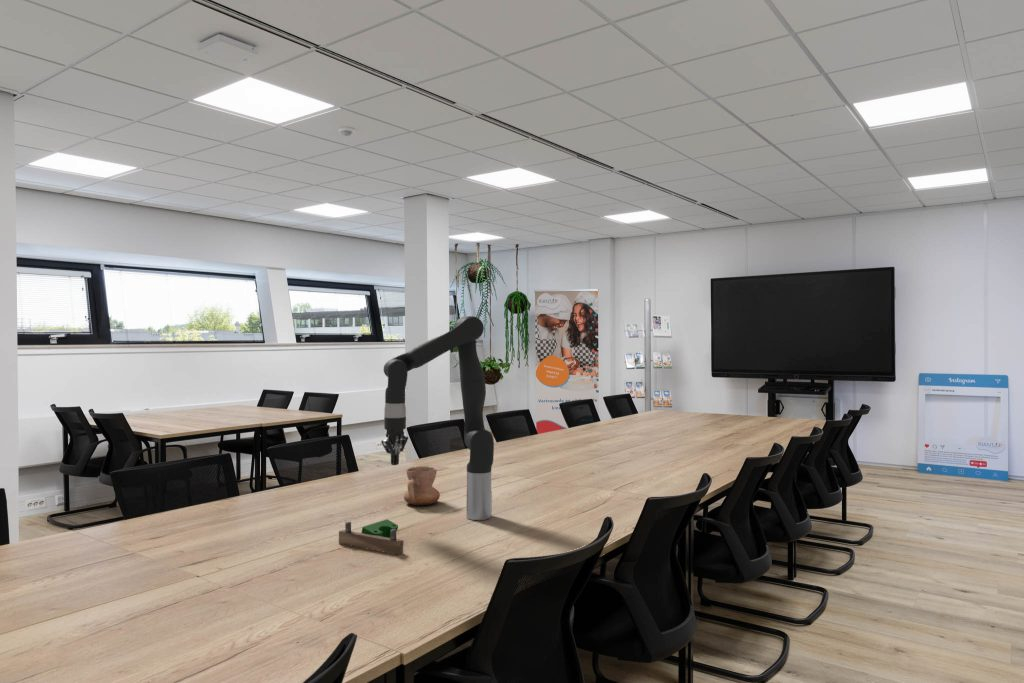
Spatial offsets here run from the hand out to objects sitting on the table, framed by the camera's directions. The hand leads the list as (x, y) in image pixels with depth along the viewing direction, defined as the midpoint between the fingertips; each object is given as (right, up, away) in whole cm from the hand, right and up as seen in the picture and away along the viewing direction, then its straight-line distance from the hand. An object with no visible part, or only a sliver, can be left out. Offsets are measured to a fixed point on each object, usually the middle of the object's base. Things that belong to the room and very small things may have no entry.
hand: (394, 464), depth 228 cm
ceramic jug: (+5, -22, +33) cm, 40 cm away
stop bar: (-3, -22, -24) cm, 33 cm away
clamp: (-2, -22, -17) cm, 28 cm away
